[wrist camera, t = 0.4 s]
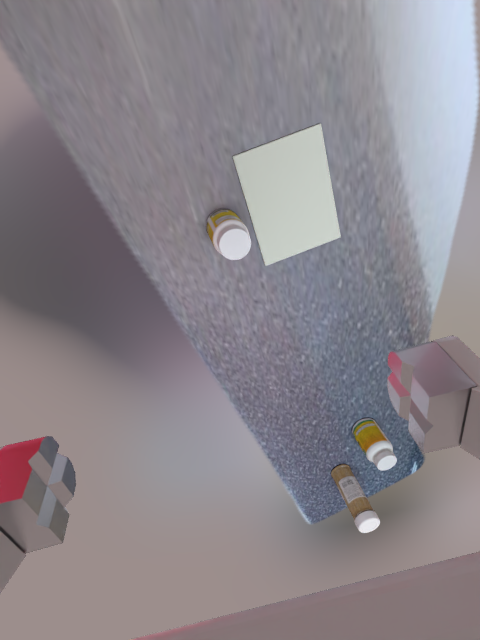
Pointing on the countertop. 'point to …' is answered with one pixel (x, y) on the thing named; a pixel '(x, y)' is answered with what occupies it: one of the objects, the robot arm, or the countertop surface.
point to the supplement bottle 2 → (374, 443)
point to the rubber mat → (289, 194)
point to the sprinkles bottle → (355, 499)
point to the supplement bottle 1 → (228, 234)
